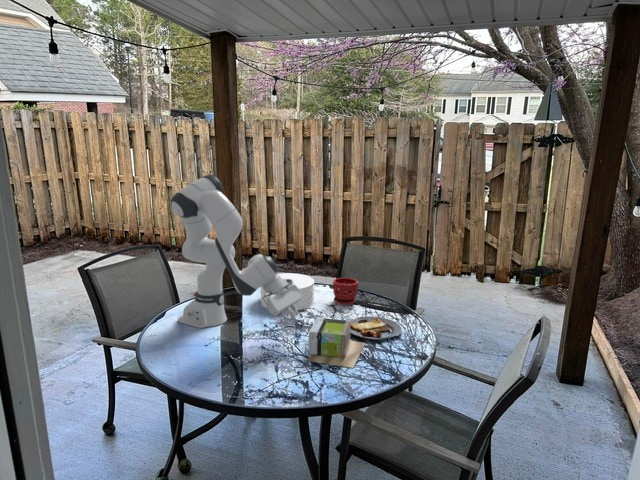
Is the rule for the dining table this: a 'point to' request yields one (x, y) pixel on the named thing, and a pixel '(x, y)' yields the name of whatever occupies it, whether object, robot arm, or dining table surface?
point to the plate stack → (304, 286)
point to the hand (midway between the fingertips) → (296, 315)
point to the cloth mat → (348, 361)
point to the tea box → (329, 337)
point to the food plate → (374, 327)
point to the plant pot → (345, 290)
